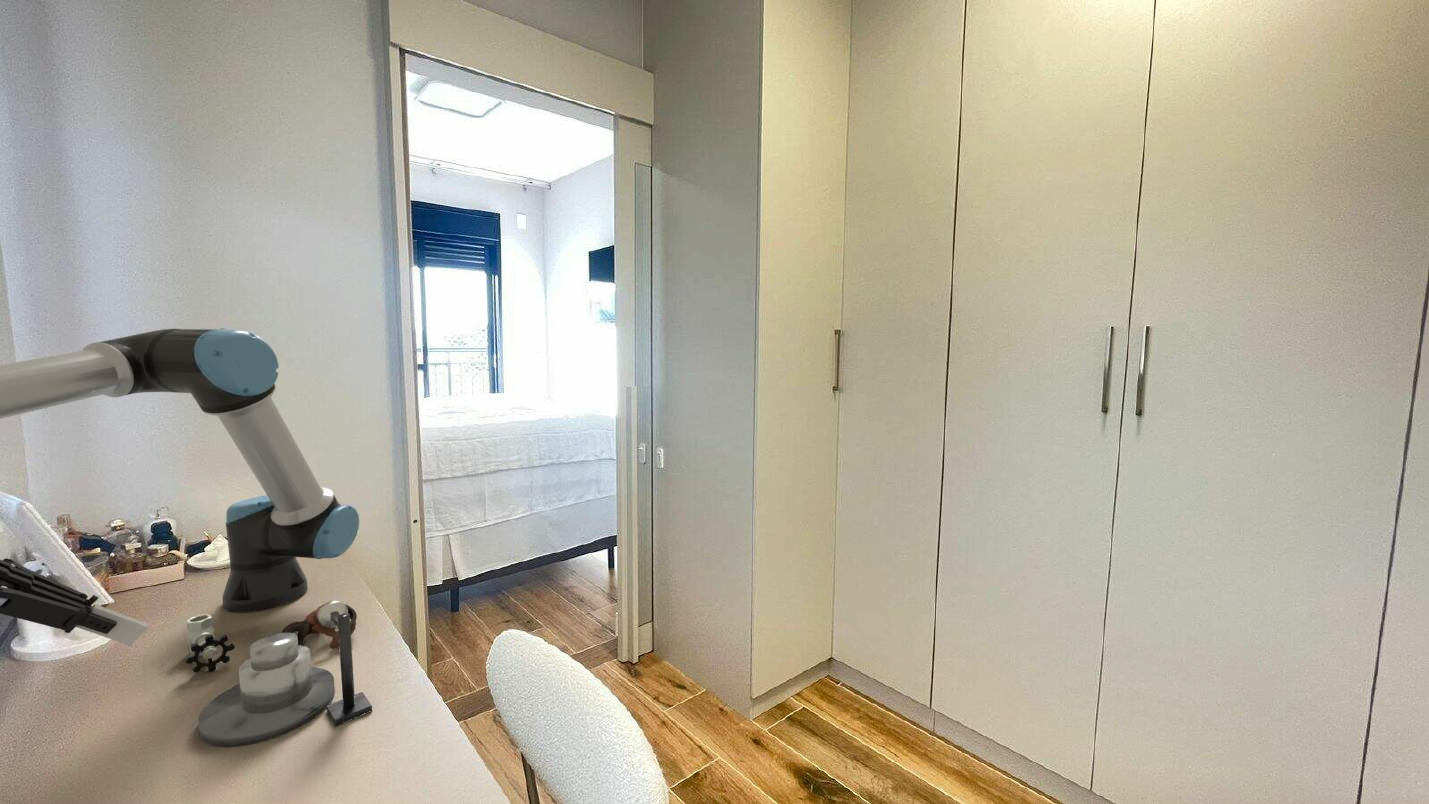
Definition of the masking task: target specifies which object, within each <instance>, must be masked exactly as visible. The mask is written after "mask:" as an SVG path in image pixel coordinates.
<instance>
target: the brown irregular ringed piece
mask: <svg viewBox="0 0 1429 804" xmlns="http://www.w3.org/2000/svg"><path fill="white" fill-rule="evenodd" d="M324 604H325V603H324ZM324 604H322V605H320V606H319V607H317V609H316V610H313V611H312V612H311V613H309V614H307V615H306V616H305V618H304V619H303V620H301V621H300V620H298V621H297V620H296V621H292V622H290V623H288V624H287V625H286V626H285V627H284V628H283V629H282V631H281V633H294V634H296V635H297V637H298V645H301V646H304V643H305V638H306V637H308V636H310V635H316V634H322V635H324V636H327V637H330V638H332V640H331V642H330V644H329V648H330V650H331V649H333V650H335V648H336V649H339V648H338V647H339V634H338V630H336V629H337V627H336V626H335V627H325V626H323V625H322V624H321V623H320V622H319V620H318V612H319V610H320V608H321V607H322V606H323V605H324ZM344 604H345V605H346V606H347V608H348V613H349V614H350V629H351V636H352V634H353V633H354V632H355V630H356V629H357V628H356V626H357V619H358V618H357V617H358V616H357V612H356V610H355V609H354V608H353V607H351V606H350V605H348V604H346V603H344Z"/></svg>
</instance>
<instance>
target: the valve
mask: <svg viewBox="0 0 1429 804" xmlns="http://www.w3.org/2000/svg"><path fill="white" fill-rule="evenodd" d="M212 618H213V617H212V615H211V614H210V613H209V614H208V613H205V614H199V615H195V616H192V617H190V618H188V619H187V620H185V621H186V622H185V623H186V629H187V631H186V633H185V637H184V638H185V643H186V644H187V646H188V652H189V655H188V656H186V657H185V659H184V662H185V664H186V665H191V664H193V663H195V665H193V666H192V668H191V670H192V672H193V673H199V672H201V671H202V669H203V668H206V669H207V671H208V673H212V672H215V671H216V670H217V666H216V665H218V664H219V663H223V664H227V663H229V662H230V660H231V657H230V655H228V654H227V653H228V652H232V651H234V650H235V649H236V646H235V644H234V643H232V642H230V643H229V644H227V645H226V643H227V642H228V641H229V637H228V635H227V634H222V635H220V636H219V639H215V637H216V629H215V627H214V625H213V619H212ZM218 646H220V647H221V649H222V652H221V654H220V656H219V657H218V658H216V659H215V660H213V658H214V657H216V656H217V653H218V648H217V647H218ZM199 656H202V657H203V658H205V659H207V662H202V661H200V659H199Z"/></svg>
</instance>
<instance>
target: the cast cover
mask: <svg viewBox="0 0 1429 804" xmlns="http://www.w3.org/2000/svg"><path fill="white" fill-rule="evenodd" d="M296 634H297V633H295V632H294V633H282V632H280V633H274V634H272V635H268V636H264V637H262V638H260V639H258V640H256V641H254V642H253V643H252V644H250V647H249V656H250V657H249V658H248V659H247V660H245V661H243V663H241V665H240V666H239V668H238V677H239V679H238V680H239V684H240V692H241V703H242V709H243V711H245V712H247V713H251V714H263V713H269V712H274V711H277V710H281V709H283V708H286V707H288V706H291V705H293V704H295V703H297V702H298V701H300V700H302V699H303V698H304V697H306V696H307V695H308V694H309V693H310V691H311V690H312V686H313V685H312V671H311V667H312V659H311V650H310V648H308V646H305V645H303V646H301V645H298V637H297V635H296Z"/></svg>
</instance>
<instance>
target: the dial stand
mask: <svg viewBox="0 0 1429 804" xmlns="http://www.w3.org/2000/svg"><path fill="white" fill-rule="evenodd" d="M345 604H346V603H344V602H343V601H341V600H338V599H335V600H330V601H327V602H325V603H324V605H323V604H322V605H323V606H322V605H321V606H322V607H321V608H320V610H319V612H318V620H319V622H320V623H321V624H322V625H323V626H325V627H335V626H336V629H337V631H338V634H339V648H338V649H339V661H340V662H339V665H340V675H341V676H340V679H341V691H342V693H341V694H342V699H340V700H337V701H335V702H331V703H330V704H329V705H327V707H326V713H327V712H328V713H327V714H328V716H329V718H330V720H331V721H332V722H333V724H334V726H335V727H337V726H340V725H343V724H344V723H343V722H345V723H347V722H349V721H348V720H350V721H352V720H355V719H356V718H355V717H357V718H359V717H361V716H360V715H362V714H364V713H367V712H369V711H371V712H373V705H372V704H371V702H370V701H369V699H368V698H367V697H366V695H365V694H364V692H363V691H361V692H358V693H355V680H354V667H353V666H354V664H353V647H352V646H353V645H352V635H351V629H350V621H351V619H350V614H349V613H348V608H347V606H346V605H347V604H346V605H345ZM369 713H370V712H369ZM367 714H368V713H367ZM364 715H365V714H364ZM358 716H359V717H358ZM362 716H363V715H362ZM354 718H355V719H354ZM351 719H352V720H351ZM346 721H347V722H346Z"/></svg>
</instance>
